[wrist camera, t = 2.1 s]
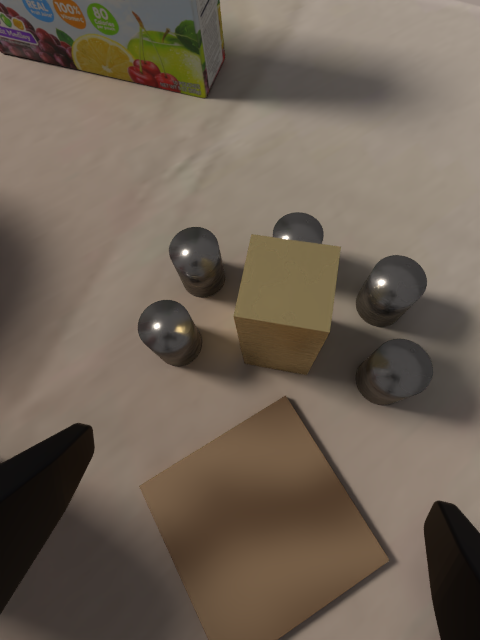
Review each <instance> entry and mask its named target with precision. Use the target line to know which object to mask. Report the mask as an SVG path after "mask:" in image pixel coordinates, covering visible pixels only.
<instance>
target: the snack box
mask: <svg viewBox="0 0 480 640" xmlns="http://www.w3.org/2000/svg"><path fill="white" fill-rule="evenodd" d="M0 52H1V53H5V54H10V55H15V56H20V57H24V58H29V59H33V60H38V61H42V62H47V63H51V64H56V65H60V66H64V67H69V68H73V69H78V70H83V71H87V72H91V73H95V74H100V75H104V76H109V77H113V78H117V79H122V80H126V81H131V82H135V83H139V84H144V85H148V86H152V87H157V88H161V89H166V90H170V91H174V92H178V93H183V94H187V95H192V96H196V97H200V98H206V97H207V96H208V93H209V91H210V89H211V87H212V85H213V82H214V80H215V78H216V76H217V74H218V72H219V70H220V67H221V65H222V63H223V61H224V59H225V50H224V40H223V31H222V21H221V11H220V1H219V0H0Z"/></svg>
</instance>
